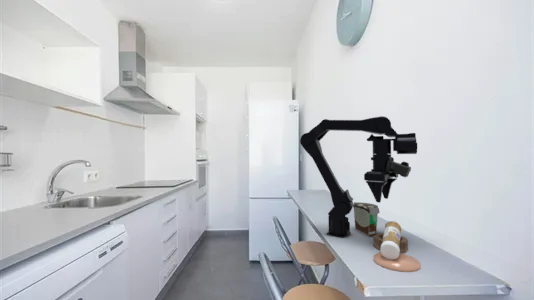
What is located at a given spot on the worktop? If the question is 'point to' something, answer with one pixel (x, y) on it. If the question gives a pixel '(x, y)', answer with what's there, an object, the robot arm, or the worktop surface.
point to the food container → (366, 218)
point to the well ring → (379, 239)
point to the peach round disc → (398, 263)
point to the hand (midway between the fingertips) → (382, 200)
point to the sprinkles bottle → (391, 240)
